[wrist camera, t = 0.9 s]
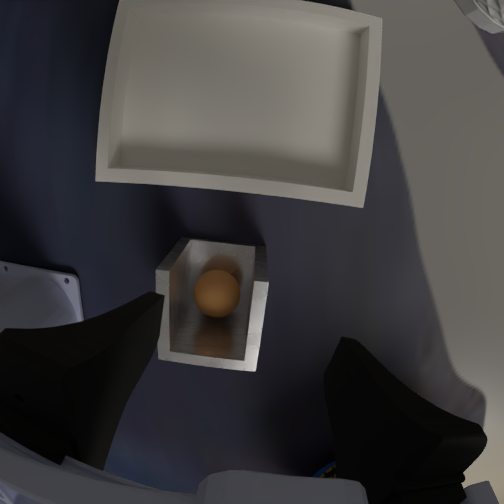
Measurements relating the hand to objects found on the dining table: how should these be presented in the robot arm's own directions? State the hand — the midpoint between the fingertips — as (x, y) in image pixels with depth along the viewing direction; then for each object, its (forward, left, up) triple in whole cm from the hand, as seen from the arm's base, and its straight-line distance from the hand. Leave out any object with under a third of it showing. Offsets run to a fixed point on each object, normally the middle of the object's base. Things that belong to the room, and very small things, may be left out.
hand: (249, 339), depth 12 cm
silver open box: (-2, -2, -10) cm, 10 cm away
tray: (-2, +10, -10) cm, 15 cm away
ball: (-2, -2, -8) cm, 8 cm away
